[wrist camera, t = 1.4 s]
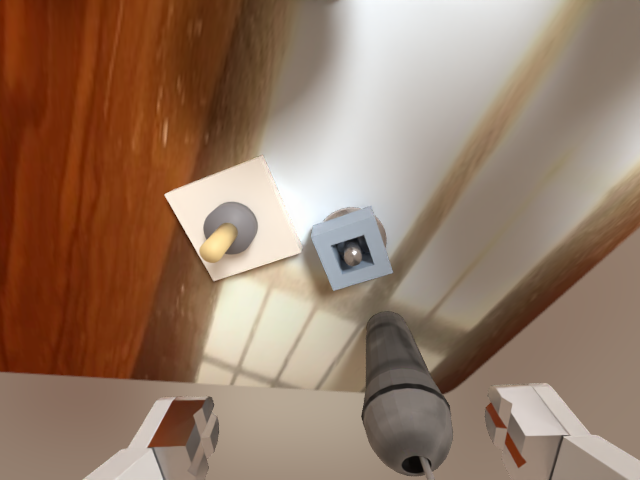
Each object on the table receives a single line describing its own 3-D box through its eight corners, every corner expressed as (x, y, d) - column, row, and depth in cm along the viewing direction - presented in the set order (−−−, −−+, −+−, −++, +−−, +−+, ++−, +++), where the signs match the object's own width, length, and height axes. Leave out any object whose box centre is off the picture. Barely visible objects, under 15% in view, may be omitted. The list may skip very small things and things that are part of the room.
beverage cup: (353, 302, 36) (369, 507, 18) (419, 299, 36) (507, 508, 17) (355, 353, 39) (372, 576, 21) (417, 351, 39) (491, 579, 20)
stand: (373, 197, 32) (379, 210, 28) (393, 258, 34) (401, 278, 30) (307, 220, 33) (303, 236, 29) (330, 278, 35) (330, 299, 31)
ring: (371, 205, 31) (374, 215, 28) (388, 258, 33) (393, 272, 31) (312, 225, 32) (310, 237, 30) (333, 275, 34) (333, 290, 32)
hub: (262, 154, 30) (238, 171, 23) (302, 246, 34) (292, 286, 27) (171, 190, 32) (122, 216, 25) (218, 274, 36) (187, 319, 28)
